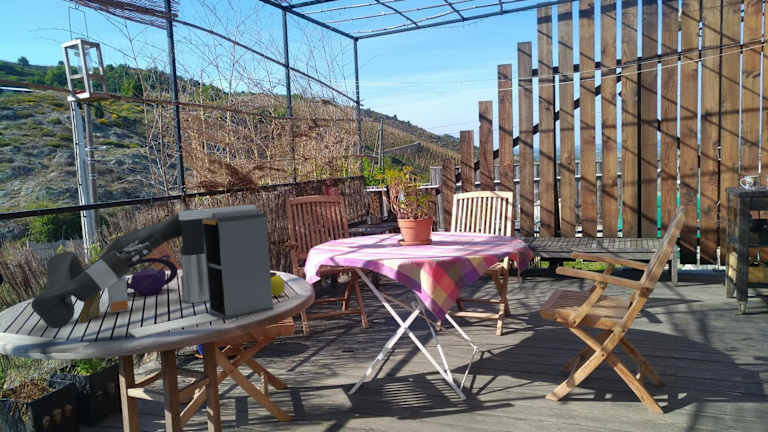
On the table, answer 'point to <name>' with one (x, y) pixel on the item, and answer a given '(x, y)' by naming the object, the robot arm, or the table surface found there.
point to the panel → (211, 212)
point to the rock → (90, 309)
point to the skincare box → (118, 296)
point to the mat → (171, 325)
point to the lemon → (277, 285)
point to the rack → (237, 263)
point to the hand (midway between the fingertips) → (156, 236)
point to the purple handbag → (151, 277)
